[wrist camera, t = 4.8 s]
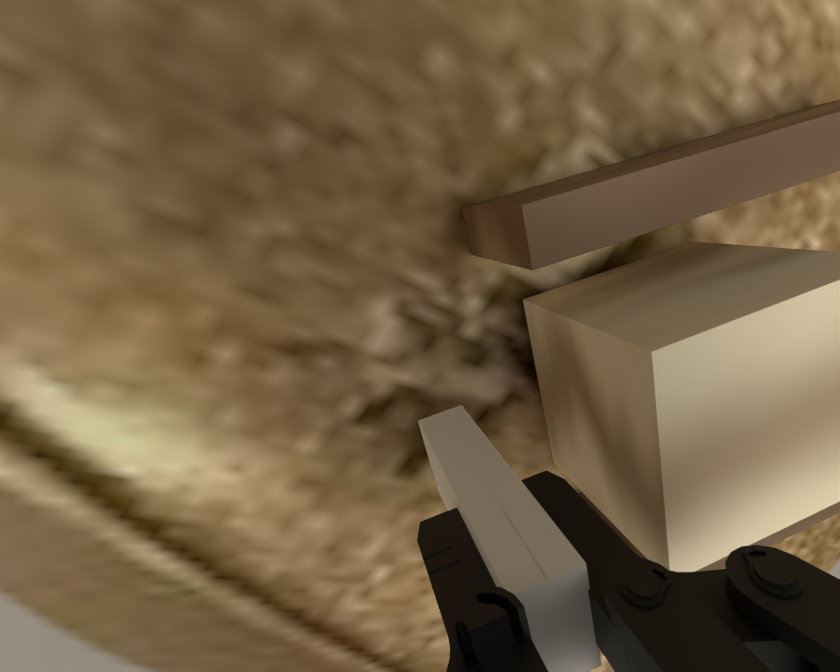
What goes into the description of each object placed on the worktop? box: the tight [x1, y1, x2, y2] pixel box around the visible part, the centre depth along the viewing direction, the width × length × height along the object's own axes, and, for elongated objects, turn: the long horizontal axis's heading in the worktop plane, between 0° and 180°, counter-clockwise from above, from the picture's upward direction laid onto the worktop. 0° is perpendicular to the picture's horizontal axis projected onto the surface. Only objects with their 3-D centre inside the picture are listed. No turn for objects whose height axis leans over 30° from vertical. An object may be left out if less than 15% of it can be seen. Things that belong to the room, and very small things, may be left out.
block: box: [523, 242, 840, 572], centre depth 13 cm, size 7×7×6 cm
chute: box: [462, 100, 840, 572], centre depth 14 cm, size 14×14×5 cm
